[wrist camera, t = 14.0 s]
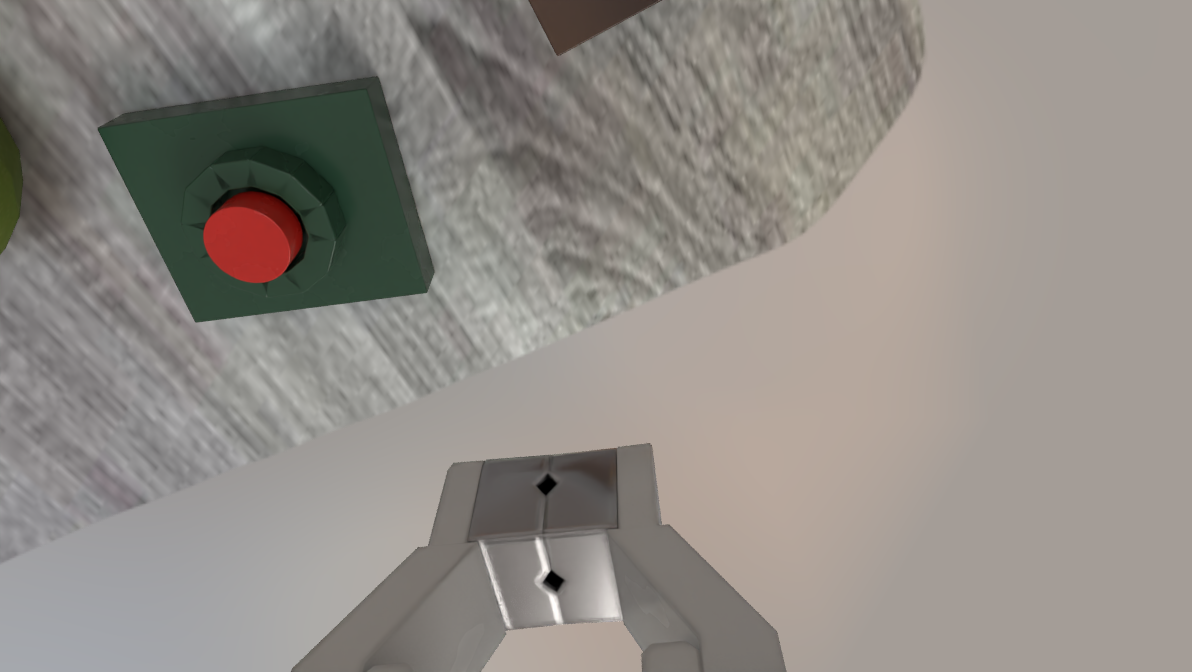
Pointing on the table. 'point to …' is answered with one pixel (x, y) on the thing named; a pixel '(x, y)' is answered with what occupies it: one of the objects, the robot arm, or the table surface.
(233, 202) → the button
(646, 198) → the table surface
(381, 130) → the button box
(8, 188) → the apple
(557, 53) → the lock plate
